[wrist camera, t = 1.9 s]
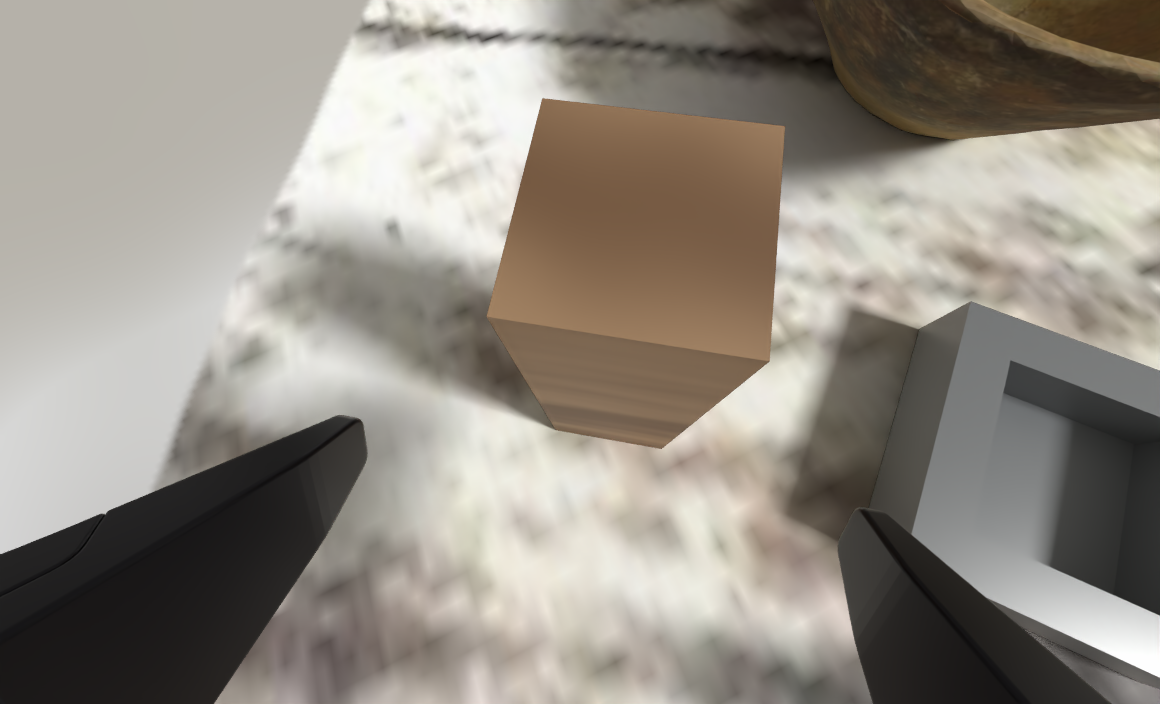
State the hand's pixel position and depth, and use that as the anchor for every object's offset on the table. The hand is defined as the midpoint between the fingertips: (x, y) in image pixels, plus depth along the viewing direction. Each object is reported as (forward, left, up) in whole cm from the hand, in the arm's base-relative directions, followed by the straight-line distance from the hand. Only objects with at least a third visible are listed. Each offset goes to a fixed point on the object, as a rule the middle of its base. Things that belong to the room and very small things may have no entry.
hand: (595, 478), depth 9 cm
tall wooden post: (+4, +1, -11) cm, 12 cm away
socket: (+7, -15, -11) cm, 20 cm away
